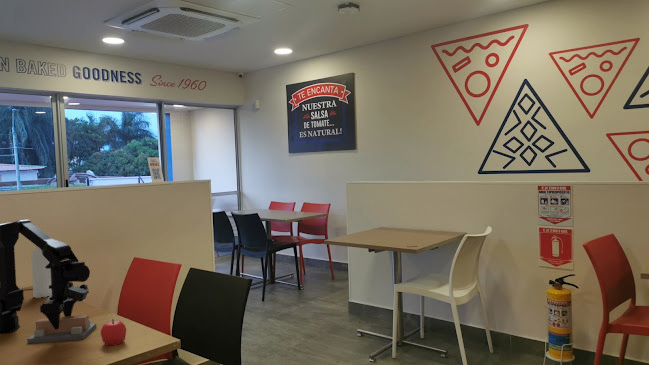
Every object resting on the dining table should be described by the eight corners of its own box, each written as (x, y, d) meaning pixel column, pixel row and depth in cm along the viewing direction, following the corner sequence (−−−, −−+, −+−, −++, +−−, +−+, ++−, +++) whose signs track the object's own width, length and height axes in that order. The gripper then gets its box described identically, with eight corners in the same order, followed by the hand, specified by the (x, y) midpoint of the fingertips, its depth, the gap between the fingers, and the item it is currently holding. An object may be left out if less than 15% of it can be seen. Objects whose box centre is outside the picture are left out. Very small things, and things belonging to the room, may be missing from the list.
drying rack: (27, 343, 158) (26, 333, 158) (44, 331, 170) (43, 321, 170) (83, 339, 160) (82, 329, 160) (96, 327, 172) (95, 318, 172)
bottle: (53, 296, 220) (49, 232, 219) (33, 299, 215) (29, 234, 214) (52, 292, 226) (49, 231, 225) (33, 295, 222) (29, 232, 221)
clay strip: (36, 334, 162) (35, 321, 162) (40, 331, 165) (39, 318, 165) (85, 330, 165) (85, 317, 165) (89, 327, 168) (88, 314, 168)
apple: (117, 337, 161) (115, 314, 161) (132, 341, 157) (131, 317, 157) (95, 345, 154) (94, 321, 154) (111, 349, 150) (109, 324, 150)
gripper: (73, 285, 156) (75, 332, 157) (94, 273, 175) (96, 314, 175) (38, 288, 155) (40, 334, 155) (62, 275, 173) (65, 317, 174)
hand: (62, 324), depth 165 cm, fingers open, 9 cm apart
